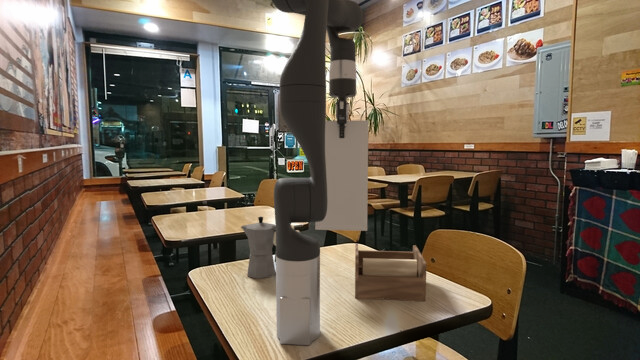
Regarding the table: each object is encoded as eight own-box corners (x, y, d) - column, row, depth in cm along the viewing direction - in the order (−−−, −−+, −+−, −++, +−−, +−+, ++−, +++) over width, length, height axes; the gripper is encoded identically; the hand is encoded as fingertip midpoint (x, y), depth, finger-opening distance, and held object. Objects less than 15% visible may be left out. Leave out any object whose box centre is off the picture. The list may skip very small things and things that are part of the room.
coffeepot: (235, 277, 108) (233, 218, 107) (248, 266, 118) (247, 213, 116) (283, 281, 105) (283, 221, 103) (293, 270, 114) (292, 215, 113)
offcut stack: (416, 298, 94) (417, 261, 93) (362, 295, 95) (363, 259, 94) (413, 292, 98) (414, 256, 97) (362, 290, 99) (362, 255, 98)
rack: (425, 301, 92) (426, 263, 91) (355, 298, 94) (355, 261, 93) (414, 277, 108) (415, 245, 107) (355, 275, 110) (355, 243, 109)
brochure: (366, 228, 102) (367, 124, 103) (367, 230, 97) (368, 120, 97) (317, 227, 103) (318, 124, 104) (315, 229, 98) (316, 120, 99)
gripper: (356, 73, 92) (355, 140, 94) (356, 83, 107) (355, 140, 108) (327, 74, 93) (327, 140, 95) (331, 83, 107) (330, 140, 109)
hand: (342, 140), depth 101 cm, fingers closed on brochure, 5 cm apart
